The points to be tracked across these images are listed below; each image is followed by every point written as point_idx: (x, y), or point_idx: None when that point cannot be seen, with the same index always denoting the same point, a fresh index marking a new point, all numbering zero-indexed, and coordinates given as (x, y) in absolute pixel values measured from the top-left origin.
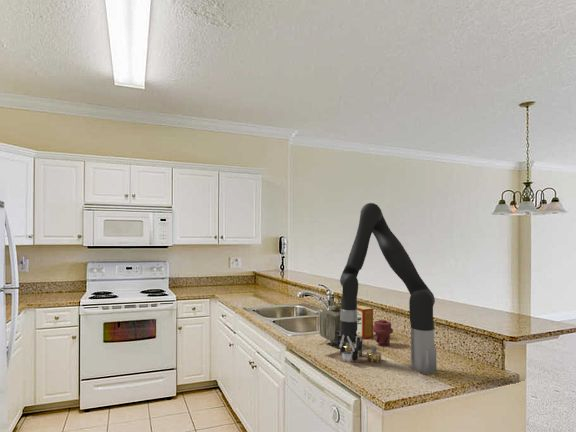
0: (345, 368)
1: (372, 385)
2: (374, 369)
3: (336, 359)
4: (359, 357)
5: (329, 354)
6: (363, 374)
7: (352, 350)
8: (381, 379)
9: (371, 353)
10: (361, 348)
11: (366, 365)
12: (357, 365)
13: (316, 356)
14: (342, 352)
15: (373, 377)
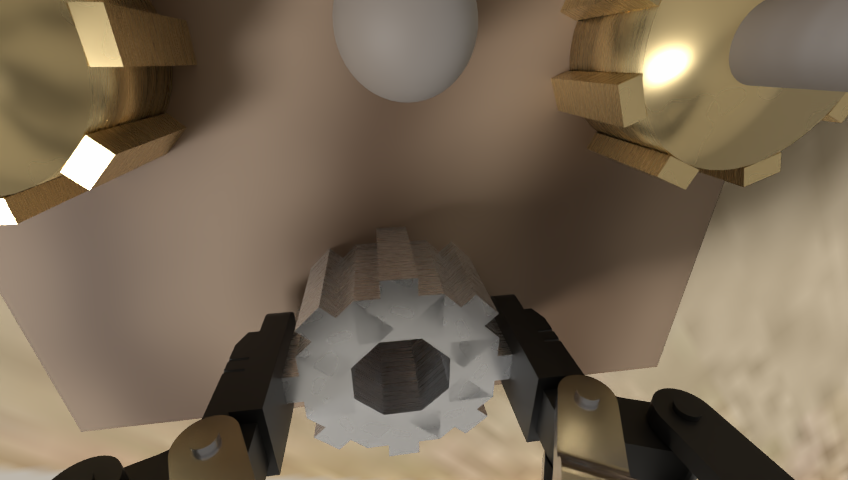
0: (494, 415)
1: (785, 448)
2: (717, 238)
3: (301, 405)
4: (420, 120)
5: (66, 369)
6: (675, 387)
7: (161, 57)
8: (822, 353)
9: (721, 90)
10: (721, 423)
11: (653, 284)
12: (578, 352)
13: (15, 445)
14: (332, 433)
15: (760, 370)
